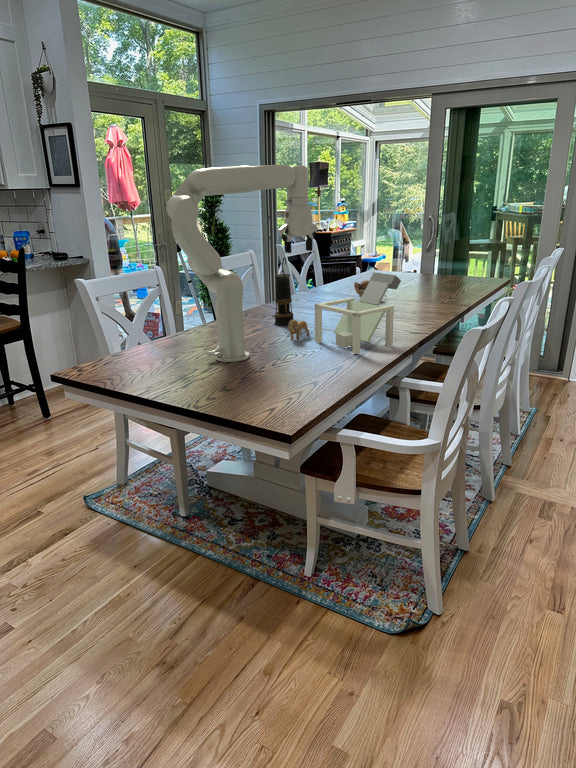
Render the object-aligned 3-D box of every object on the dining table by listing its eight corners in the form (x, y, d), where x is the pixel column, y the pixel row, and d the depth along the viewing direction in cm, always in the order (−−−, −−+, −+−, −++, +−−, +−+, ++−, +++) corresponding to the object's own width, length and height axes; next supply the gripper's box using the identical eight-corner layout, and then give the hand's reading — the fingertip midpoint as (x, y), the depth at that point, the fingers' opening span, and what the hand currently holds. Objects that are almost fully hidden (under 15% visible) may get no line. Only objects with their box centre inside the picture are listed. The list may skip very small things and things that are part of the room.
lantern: (271, 325, 246) (268, 258, 236) (280, 320, 254) (278, 255, 244) (288, 326, 242) (286, 258, 232) (297, 322, 250) (296, 256, 240)
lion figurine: (297, 343, 216) (297, 321, 213) (285, 342, 218) (285, 320, 215) (311, 334, 228) (311, 313, 225) (300, 333, 230) (299, 312, 227)
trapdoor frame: (356, 355, 197) (356, 313, 192) (315, 342, 216) (314, 304, 211) (392, 345, 208) (393, 306, 203) (350, 334, 226) (350, 297, 221)
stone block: (354, 346, 209) (344, 348, 206) (345, 343, 213) (335, 346, 210) (354, 333, 207) (344, 336, 205) (345, 331, 211) (335, 333, 208)
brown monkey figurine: (356, 285, 302) (348, 281, 288) (384, 279, 296) (378, 275, 282) (359, 308, 302) (351, 305, 288) (387, 303, 295) (381, 299, 281)
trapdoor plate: (373, 346, 205) (367, 341, 202) (340, 337, 220) (333, 332, 217) (408, 281, 207) (402, 275, 204) (372, 276, 222) (366, 270, 219)
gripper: (284, 203, 185) (285, 254, 191) (323, 201, 195) (323, 250, 200) (271, 203, 191) (273, 253, 197) (310, 202, 200) (310, 249, 206)
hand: (298, 251), depth 199 cm, fingers open, 9 cm apart
